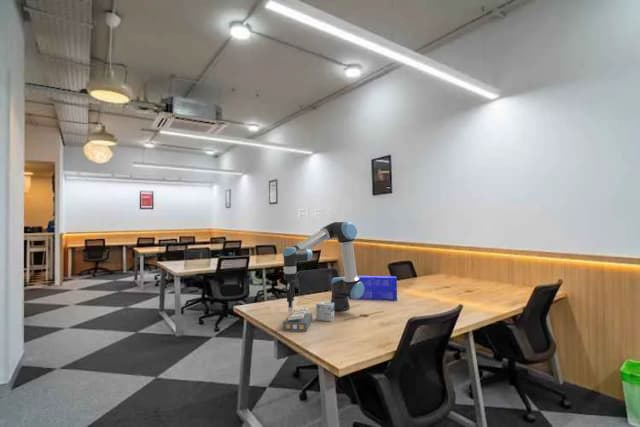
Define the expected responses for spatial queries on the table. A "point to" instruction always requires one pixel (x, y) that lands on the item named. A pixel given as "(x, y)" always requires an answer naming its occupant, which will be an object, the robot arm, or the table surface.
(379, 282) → the toner cartridge box
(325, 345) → the table surface
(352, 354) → the table surface
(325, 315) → the light bulb box
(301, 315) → the rocker near
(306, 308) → the rocker far
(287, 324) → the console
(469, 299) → the table surface
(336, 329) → the table surface
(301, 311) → the rocker mid
